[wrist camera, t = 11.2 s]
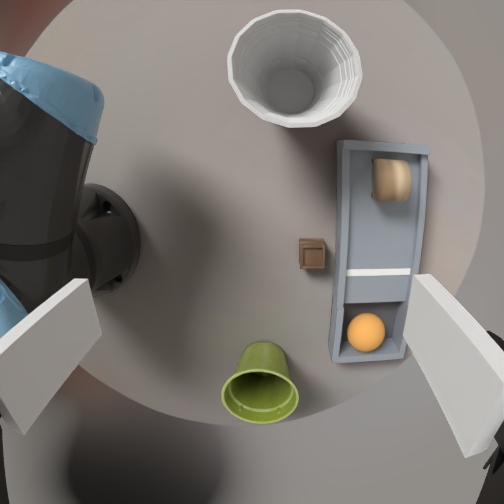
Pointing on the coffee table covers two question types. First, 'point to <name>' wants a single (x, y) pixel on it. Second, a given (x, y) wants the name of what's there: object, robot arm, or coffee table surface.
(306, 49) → the plastic cup
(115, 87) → the coffee table surface
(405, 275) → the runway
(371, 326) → the ball
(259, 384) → the plant pot
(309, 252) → the small wooden crate
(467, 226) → the coffee table surface
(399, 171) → the block
